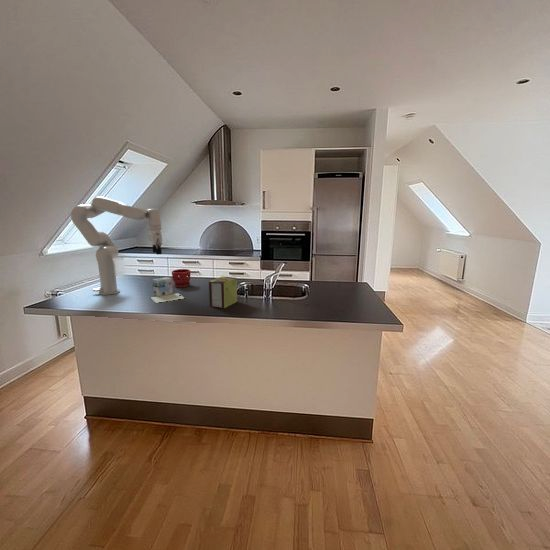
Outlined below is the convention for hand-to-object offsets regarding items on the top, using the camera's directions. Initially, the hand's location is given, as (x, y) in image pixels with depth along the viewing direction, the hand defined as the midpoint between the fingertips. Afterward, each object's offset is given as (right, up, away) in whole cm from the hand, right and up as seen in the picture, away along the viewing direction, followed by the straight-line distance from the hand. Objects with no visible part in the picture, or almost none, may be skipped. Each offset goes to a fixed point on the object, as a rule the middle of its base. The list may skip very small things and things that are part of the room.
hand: (157, 253), depth 198 cm
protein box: (+49, -33, -20) cm, 62 cm away
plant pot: (+10, -23, +22) cm, 33 cm away
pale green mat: (+11, -30, -10) cm, 33 cm away
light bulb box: (+5, -28, -2) cm, 29 cm away
